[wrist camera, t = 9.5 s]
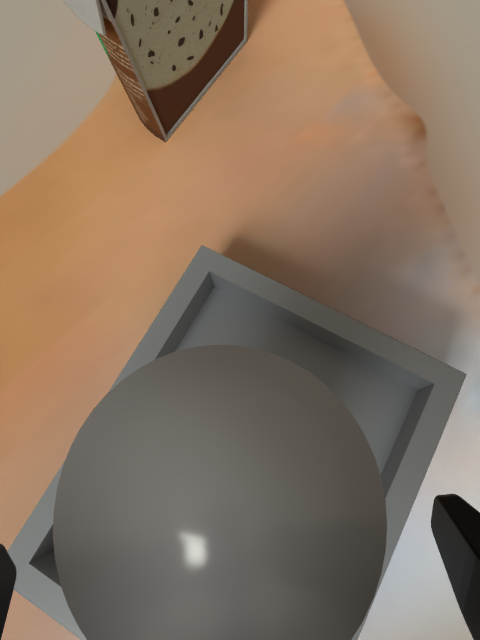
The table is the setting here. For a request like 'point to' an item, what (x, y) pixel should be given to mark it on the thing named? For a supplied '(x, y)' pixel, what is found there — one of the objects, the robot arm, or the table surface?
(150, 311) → the table surface
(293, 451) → the grey round glossy part
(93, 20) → the food container
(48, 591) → the charcoal tray
